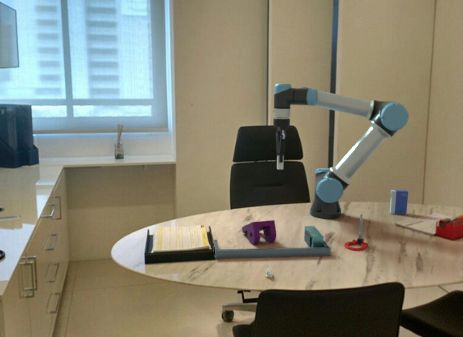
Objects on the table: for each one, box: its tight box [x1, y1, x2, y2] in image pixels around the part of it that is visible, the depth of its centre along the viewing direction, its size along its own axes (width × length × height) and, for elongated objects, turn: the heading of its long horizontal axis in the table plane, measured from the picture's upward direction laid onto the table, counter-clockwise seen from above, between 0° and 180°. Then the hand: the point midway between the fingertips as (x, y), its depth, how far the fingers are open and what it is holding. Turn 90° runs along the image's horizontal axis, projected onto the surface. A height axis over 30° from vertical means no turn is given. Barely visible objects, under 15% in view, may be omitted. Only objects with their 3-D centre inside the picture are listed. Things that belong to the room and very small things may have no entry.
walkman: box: [389, 189, 409, 215], centre depth 241 cm, size 8×3×12 cm, turn 88°
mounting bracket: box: [241, 219, 277, 245], centre depth 201 cm, size 10×8×18 cm
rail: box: [212, 225, 331, 260], centre depth 192 cm, size 44×24×6 cm, turn 95°
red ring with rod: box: [343, 213, 369, 252], centre depth 192 cm, size 8×13×9 cm
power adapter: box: [265, 267, 275, 278], centre depth 163 cm, size 3×3×3 cm
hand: (280, 169), depth 224 cm, fingers closed
